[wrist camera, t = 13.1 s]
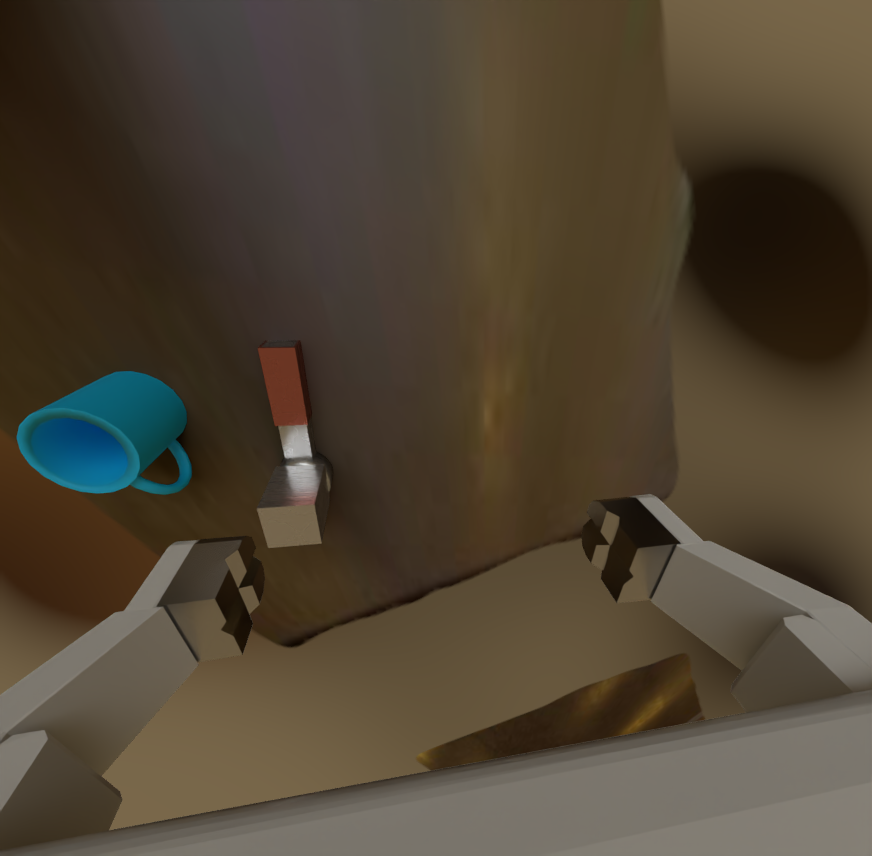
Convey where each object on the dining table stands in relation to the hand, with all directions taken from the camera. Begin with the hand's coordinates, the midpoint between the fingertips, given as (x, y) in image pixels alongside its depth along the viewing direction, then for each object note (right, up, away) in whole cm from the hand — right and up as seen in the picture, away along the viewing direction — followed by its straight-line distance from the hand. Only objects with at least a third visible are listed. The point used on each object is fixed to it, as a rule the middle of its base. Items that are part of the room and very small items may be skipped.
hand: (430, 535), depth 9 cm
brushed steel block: (-14, -4, +30) cm, 33 cm away
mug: (-29, +3, +28) cm, 40 cm away
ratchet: (-15, +3, +30) cm, 33 cm away
